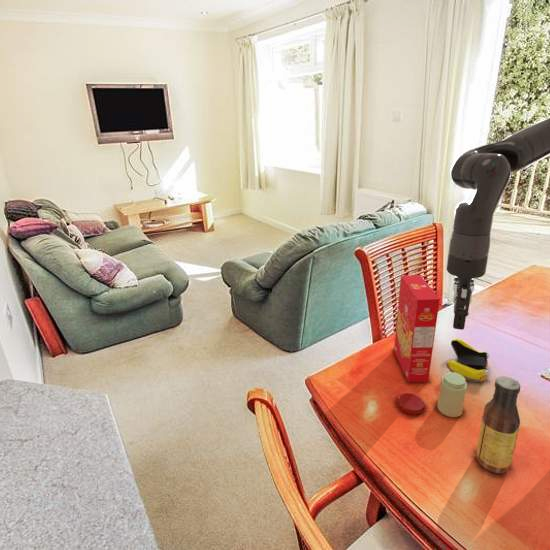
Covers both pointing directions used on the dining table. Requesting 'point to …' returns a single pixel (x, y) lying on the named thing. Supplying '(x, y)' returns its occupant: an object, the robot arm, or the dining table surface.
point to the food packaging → (415, 327)
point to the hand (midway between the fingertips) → (458, 319)
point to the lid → (410, 404)
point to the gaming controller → (468, 361)
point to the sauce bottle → (499, 427)
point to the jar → (452, 394)
